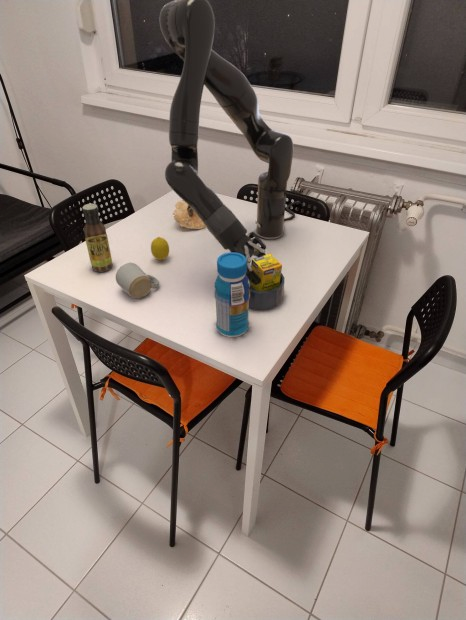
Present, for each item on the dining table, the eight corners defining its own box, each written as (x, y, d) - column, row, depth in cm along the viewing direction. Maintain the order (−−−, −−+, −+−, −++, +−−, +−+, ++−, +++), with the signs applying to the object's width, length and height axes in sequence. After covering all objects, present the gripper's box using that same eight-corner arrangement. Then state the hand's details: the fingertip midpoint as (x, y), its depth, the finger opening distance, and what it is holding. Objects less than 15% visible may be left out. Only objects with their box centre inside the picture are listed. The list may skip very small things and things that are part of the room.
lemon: (167, 265, 123) (164, 242, 118) (150, 263, 123) (146, 240, 118) (172, 256, 127) (170, 233, 122) (156, 254, 128) (153, 232, 123)
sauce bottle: (94, 275, 119) (77, 213, 106) (90, 264, 123) (74, 204, 110) (116, 270, 121) (102, 208, 108) (111, 260, 125) (98, 200, 113)
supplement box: (259, 303, 107) (263, 271, 99) (248, 290, 110) (250, 258, 103) (278, 297, 109) (283, 264, 101) (266, 284, 112) (270, 252, 105)
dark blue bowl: (247, 278, 117) (247, 261, 113) (288, 289, 113) (290, 271, 109) (229, 303, 108) (228, 285, 104) (273, 315, 104) (275, 297, 100)
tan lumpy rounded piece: (208, 244, 145) (212, 230, 139) (169, 235, 143) (171, 221, 136) (214, 207, 154) (217, 193, 147) (177, 199, 152) (179, 184, 145)
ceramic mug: (132, 304, 108) (127, 280, 103) (117, 290, 113) (112, 267, 108) (165, 289, 113) (162, 266, 108) (150, 277, 118) (146, 254, 113)
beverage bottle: (210, 333, 99) (206, 265, 86) (223, 313, 105) (221, 246, 92) (242, 342, 96) (243, 273, 84) (253, 320, 102) (256, 253, 90)
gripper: (222, 231, 94) (265, 283, 98) (245, 208, 104) (283, 255, 108) (203, 246, 99) (244, 294, 103) (227, 222, 109) (264, 267, 113)
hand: (264, 274), depth 105 cm, fingers closed on supplement box, 8 cm apart
